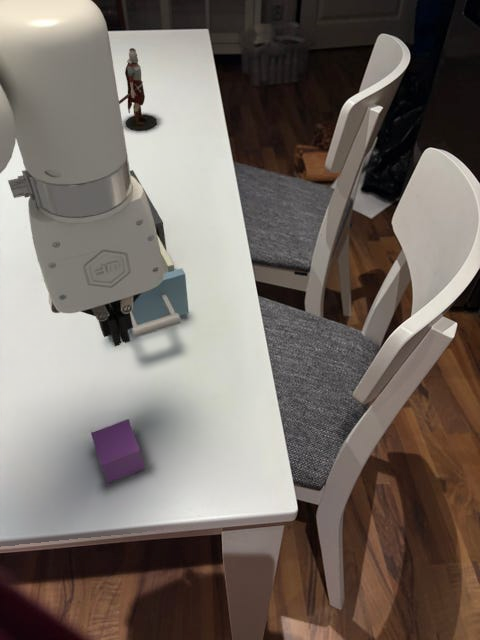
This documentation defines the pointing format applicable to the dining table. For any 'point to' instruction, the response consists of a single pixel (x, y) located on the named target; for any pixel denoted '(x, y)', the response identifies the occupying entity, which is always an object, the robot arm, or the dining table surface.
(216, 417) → the dining table surface
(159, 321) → the drawer
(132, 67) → the figurine
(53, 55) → the robot arm
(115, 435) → the cube
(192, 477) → the dining table surface
